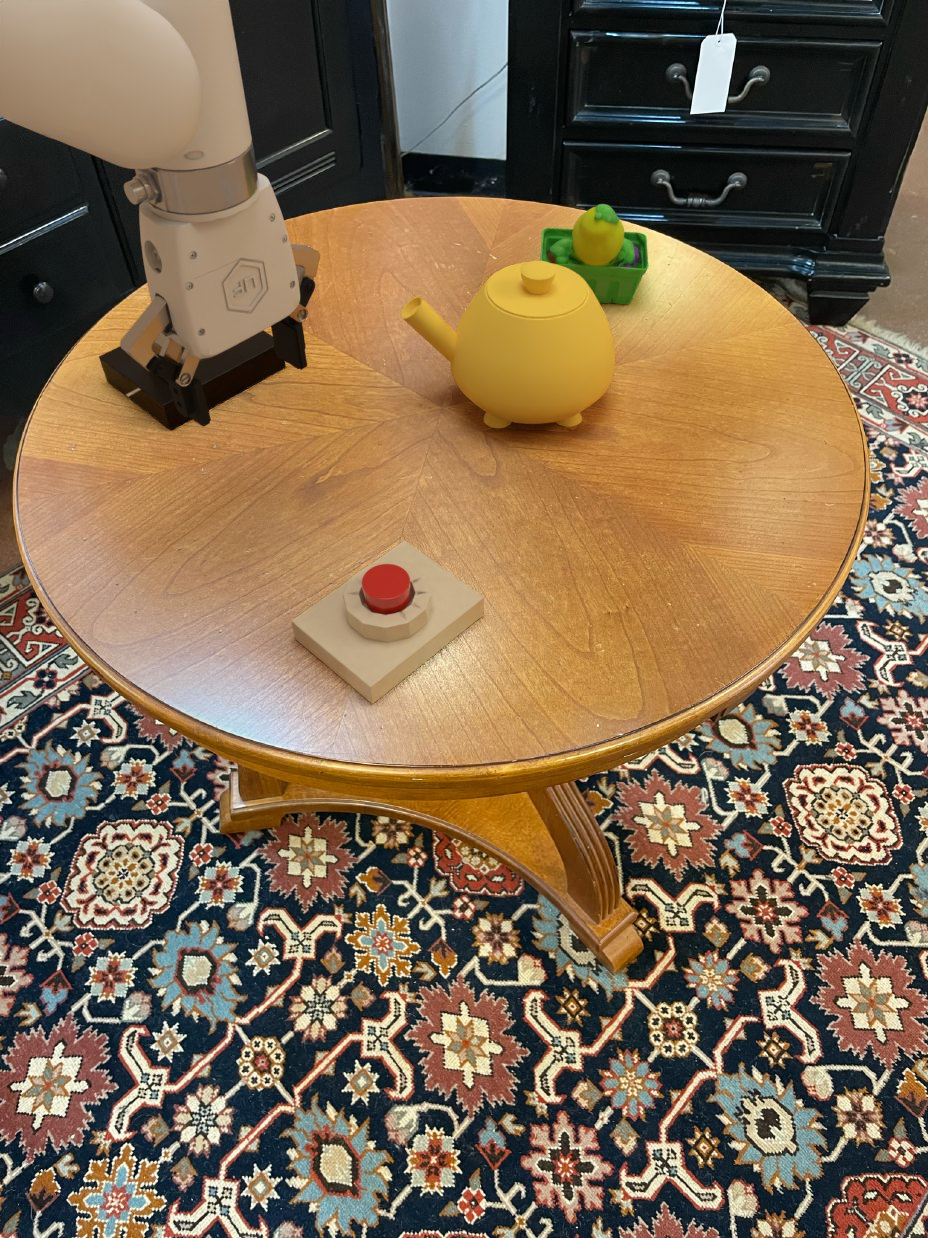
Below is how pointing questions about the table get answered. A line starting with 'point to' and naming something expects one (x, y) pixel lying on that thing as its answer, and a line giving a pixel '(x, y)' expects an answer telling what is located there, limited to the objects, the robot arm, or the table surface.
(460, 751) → the table surface
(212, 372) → the panel
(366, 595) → the button
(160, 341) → the hob knob
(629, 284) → the fruit basket
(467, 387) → the teapot
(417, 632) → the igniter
